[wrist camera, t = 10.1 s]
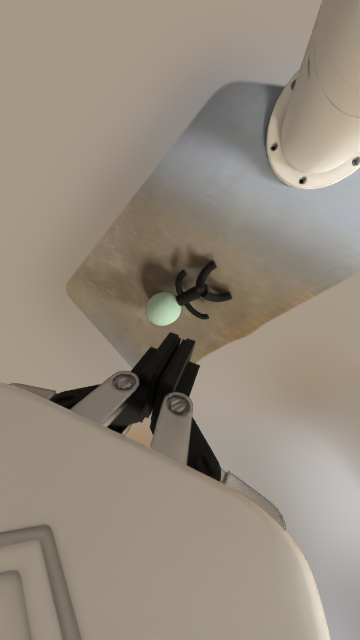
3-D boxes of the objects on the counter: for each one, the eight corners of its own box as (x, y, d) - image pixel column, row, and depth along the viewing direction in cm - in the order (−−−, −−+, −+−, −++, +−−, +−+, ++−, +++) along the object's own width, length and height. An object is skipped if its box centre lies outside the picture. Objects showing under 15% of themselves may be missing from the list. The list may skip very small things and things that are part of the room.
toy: (210, 252, 34) (142, 292, 40) (207, 256, 29) (129, 301, 35) (234, 300, 37) (167, 331, 42) (236, 313, 31) (159, 346, 37)
